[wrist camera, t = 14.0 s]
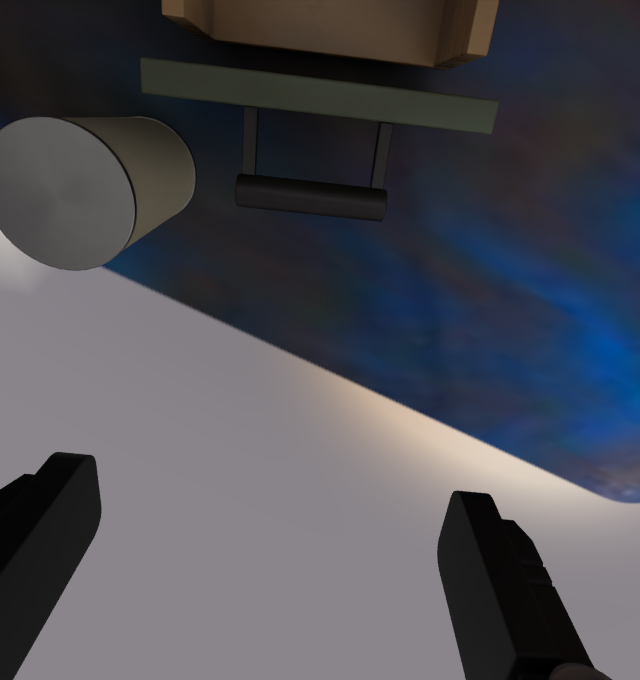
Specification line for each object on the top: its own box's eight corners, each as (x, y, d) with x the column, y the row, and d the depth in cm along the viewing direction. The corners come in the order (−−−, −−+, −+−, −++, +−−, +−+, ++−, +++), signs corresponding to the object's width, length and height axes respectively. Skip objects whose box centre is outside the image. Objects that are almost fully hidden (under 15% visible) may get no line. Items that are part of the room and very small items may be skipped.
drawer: (430, 213, 26) (465, 243, 20) (187, 187, 26) (146, 209, 20) (516, -206, 19) (611, -359, 13) (181, -257, 19) (113, -446, 12)
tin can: (102, 215, 27) (-4, 263, 18) (92, 110, 25) (-35, 107, 16) (197, 224, 28) (139, 277, 19) (196, 122, 25) (129, 125, 16)
